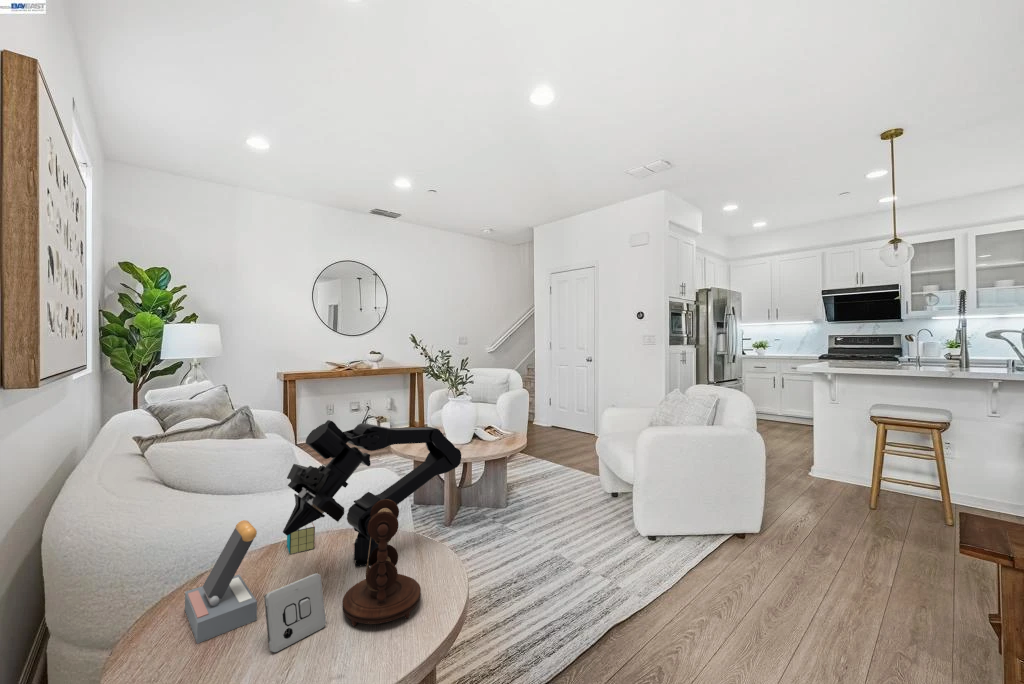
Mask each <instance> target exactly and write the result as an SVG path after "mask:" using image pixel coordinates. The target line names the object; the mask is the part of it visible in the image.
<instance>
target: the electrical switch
mask: <svg viewBox="0 0 1024 684" xmlns="http://www.w3.org/2000/svg"><path fill="white" fill-rule="evenodd" d="M322 584H323V583H322V576H321V574H319V573H317V572H316V573H313V574H309V575H308V576H305V577H303V578H301V579H298V580H296V581H293V582H291V583H288V584H286V585H283V586H282V587H279V588H277V589H274V590H271V591H269V592H267V594H264V596H263V598H264V599H263V600H264V610H265V620H266V632H267V643H268V645H269V651H270V652H272V653H278V652H280V651H281V650H283V649H285V648H287V647H289V646H291V645H293V644H295V643H297V642H299V641H300V640H302V639H304V638H306V637H309V635H312V634H314V633H316V632H319V630H321V629H323V628H325V626H326V624H327V620H326V613H325V601H324V594H323V593H324V592H323V585H322Z"/></svg>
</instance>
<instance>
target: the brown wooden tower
mask: <svg viewBox="0 0 1024 684" xmlns="http://www.w3.org/2000/svg"><path fill="white" fill-rule="evenodd" d="M399 515H400V509H399V506H398V505H397V504H396V503H395V502H394V501H392V500H389V499H384V500H380V501H378V502H377V503H376V504H375V505H374V506H373V507H372V510H371V519H370V521H369V523H368V533H369V535H370V536H371V537H370V545H371V538H373V539H374V540H375V542H376V543H377V544H379V545H378V547H377V548H375V549H374V550H373V552H372V553H371V555H370V565H369V554H368V561H367V566H366V569H365V579H362V580H361V581H359V582H357V583H355V584H353V586H351V587H350V588H349V589H348V590H347V591H346V592H345V594H344V596H343V598H342V604H341V605H342V607H341V608H342V613H343V614H344V615H345V617H346V618H348V619H349V620H350V621H351V624H352V626H353V627H356V626H357V623H359V624H363V625H365V624H366V625H374V624H375V625H376V624H377V625H378V624H384V623H388V622H392V621H396V620H398V619H400V618H402V617H404V618H405V620H408V619H409V618H410V614H411V612H412V611H413V610H414V609H415V608H416V607H417V606H418V604H419V603H420V600H421V595H422V591H421V590H422V589H421V585H420V583H419V582H418V581H417V580H416V579H414V578H412V577H410V576H407V575H405V574H401V573H399V571H398V568H397V564H398V560H399V553H398V551H397V549H396V548H395V547H394V546H393V545H391V544H389V542H391V540H392V538H393V537H395V536H396V535H397V533H398V530H399V519H398V518H399ZM370 545H369V553H370Z"/></svg>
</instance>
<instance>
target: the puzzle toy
mask: <svg viewBox="0 0 1024 684" xmlns="http://www.w3.org/2000/svg"><path fill="white" fill-rule="evenodd" d="M313 522H314V521H313ZM313 522H311V523H309V524H307V525H305V526H304V527H302V528H300V529H298V530H296V531H295V532H293V533H291V534H289V535H286V547H287V550H288V554H289V555H294V554H297V552H298V553H301V551H302V552H305V550H307V551H310V550H309V549H311V550H314V549H315V544H316V541H315V540H316V526H315V524H314V523H313ZM293 553H294V554H293Z"/></svg>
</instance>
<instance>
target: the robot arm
mask: <svg viewBox="0 0 1024 684" xmlns="http://www.w3.org/2000/svg"><path fill="white" fill-rule="evenodd" d="M347 443H348V444H351V445H353V447H351V446H349V445H348V444H347ZM305 444H306V445H307V446H309V447H310V448H311V449H312V450H313V451H315V452H316V453H317V454H318V455H319V456H321V457H322V458H323V459H325V460H327V459H331V460H330V461H329V462H328V463H327V464H326V465H319V467H317V466H315V467H314V466H312V465H309V466H303V465H300V464H296V463H292V464H293V465H292V466H291V469H290V470H289V472H288V474H287V476H286V479H288V480H290V482H289V483H288V484H287V487H288V488H290V489H291V490H293V491H294V492H296V493H294V500H295V501H294V502H295V506H294V508H293V510H292V512H291V514H290V517H289V518H288V520H287V523H286V524H285V527H284V528H283V531H282V533H283V534H284V535H285V536H287V535H289V534H291V533H293V532H295V531H296V530H298V529H300V528H302V527H304V526H305V525H307V524H309V523H311V522H314V521H317V520H319V519H321V518H325V517H326V515H328V516H329V517H330V518H331V519H333V520H335V521H336V522H337V523H339V522H340V520H341V519H342V517H343V516H344V515H345V507H344V506H343V505H341V504H340V503H339V502H337V501H336V499H335V498H334V497H335V496H336V494H337V493H338V492H339V490H340V489H341V488H342V487H343V488H345V489H346V488H347V486H348V485H349V482H347V481H348V480H349V479H350V478H351V476H352V474H354V472H355V471H356V470H357V469H358V467H359V466H360V465H364V466H367V467H371V454H370V453H367V452H363V451H361V450H360V449H359V448H361V449H363V450H366V451H368V452H370V451H371V452H374V451H378V450H381V449H386V448H387V447H390V446H394V445H405V444H406V445H407V444H408V445H409V444H425V446H426V449H427V450H428V453H427V456H426V457H425V460H424V461H423V462H422V463H420V464H419V465H418V466H417V467H415V468H414V469H412V470H411V471H410V472H408V473H407V474H406V475H404V476H403V477H401V478H399V479H398V480H397V481H396V482H394V483H393V484H391V485H390V486H389V487H388V488H386V489H384V490H383V491H382V492H380V493H377V494H374V493H373V492H369V491H368V492H366V493H364V494H363V495H362V496H361V497H360V498H358V499H356V500H355V499H354V500H353V504H352V505H351V506H350V507H349V508H348V511H347V514H346V521H347V523H348V524H349V525H350V526H351V527H353V530H354V531H355V532H357V537H356V538H355V541H354V545H353V550H354V551H353V552H354V553H353V560H354V561H355V564H354V566H355V567H364V566H366V567H367V561H368V554H369V566H371V565H370V555H371V553H372V552H373V550H374V549H375V548H377V547H378V545H379V544H377V543H376V542H375V540H374V539H373V538H371V545H370V537H371V536H370V535H369V533H368V523H369V521H370V519H371V510H372V507H373V506H374V505H375V504H376V503H377V502H378V501H380V500H384V499H389V500H392V501H394V502H395V503H396V504H397V506H398V505H399V504H400V503H402V502H403V501H404V500H406V499H407V498H408V497H410V496H411V495H413V494H414V492H416V491H417V490H419V489H420V488H421V487H423V486H424V485H426V484H427V483H428V482H429V481H430V480H432V479H433V478H435V477H436V476H439V475H444V474H447V473H449V472H451V471H453V470H455V469H457V467H459V466H460V465H461V464H462V463H461V461H462V452H461V450H460V449H459V448H458V447H456V446H455V445H454V444H453V443H452V442H451V441H450V440H449V439H448V438H447V437H446V436H445V435H444V434H443V431H441V430H440V429H439V428H436V427H432V426H426V427H385V426H381V425H376V424H370V423H366V422H363V423H358V424H357V425H356V426H355V427H354V428H352V429H347V430H345V431H342V430H341V429H340V427H338V426H337V424H336V422H334V421H333V420H330V419H327V420H326V422H325V423H322V424H320V425H318V426H317V427H316V428H314V429H312V430H311V431H310V433H309V434H308V435H307V437H306V439H305ZM355 446H356V447H355ZM325 513H326V515H325ZM369 545H370V553H369Z"/></svg>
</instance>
